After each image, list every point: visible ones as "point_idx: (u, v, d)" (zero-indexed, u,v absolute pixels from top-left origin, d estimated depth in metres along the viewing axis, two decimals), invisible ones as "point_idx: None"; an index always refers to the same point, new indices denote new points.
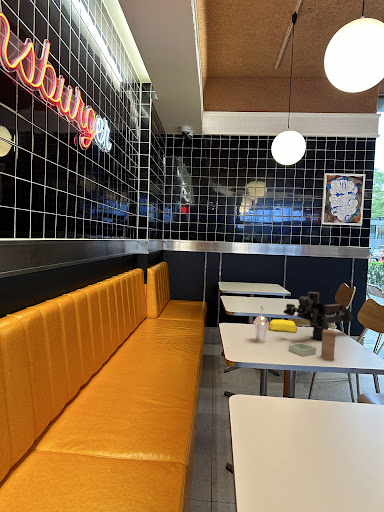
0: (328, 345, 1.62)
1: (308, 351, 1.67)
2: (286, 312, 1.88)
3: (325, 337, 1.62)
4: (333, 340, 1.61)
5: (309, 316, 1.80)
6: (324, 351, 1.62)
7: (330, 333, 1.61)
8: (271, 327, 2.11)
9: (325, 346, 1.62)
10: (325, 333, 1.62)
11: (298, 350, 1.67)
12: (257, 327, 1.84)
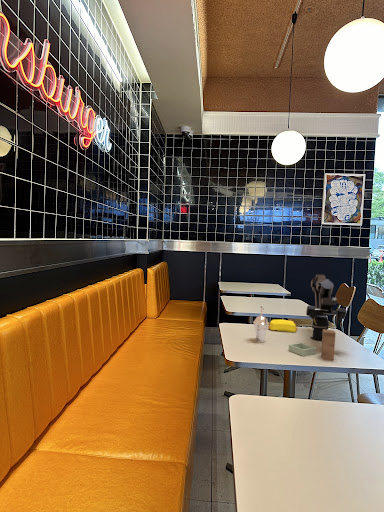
0: (328, 345, 1.62)
1: (308, 351, 1.67)
2: None
3: (325, 337, 1.62)
4: (333, 340, 1.61)
5: (341, 317, 1.73)
6: (324, 351, 1.62)
7: (330, 333, 1.61)
8: (271, 327, 2.11)
9: (325, 346, 1.62)
10: (325, 333, 1.62)
11: (298, 350, 1.67)
12: (257, 327, 1.84)
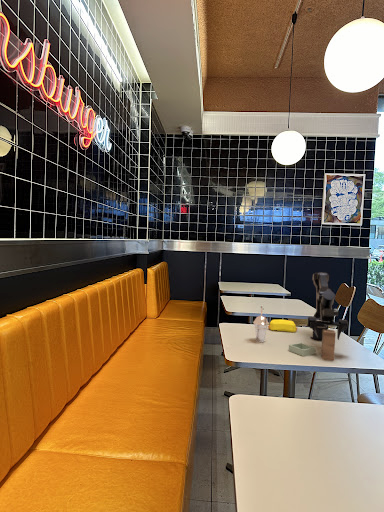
0: (328, 345, 1.62)
1: (308, 351, 1.67)
2: None
3: (325, 337, 1.62)
4: (333, 340, 1.61)
5: (342, 329, 1.68)
6: (324, 351, 1.62)
7: (330, 333, 1.61)
8: (271, 327, 2.11)
9: (325, 346, 1.62)
10: (325, 333, 1.62)
11: (298, 350, 1.67)
12: (257, 327, 1.84)
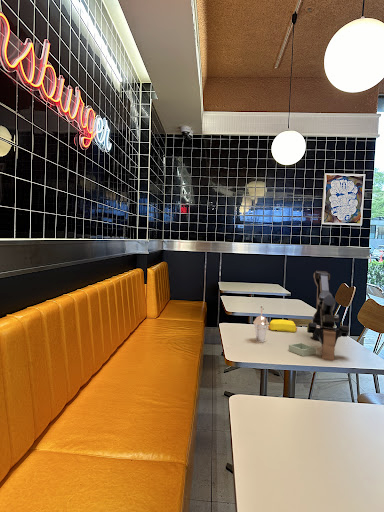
0: (328, 345, 1.61)
1: (308, 351, 1.67)
2: None
3: (325, 337, 1.62)
4: (333, 340, 1.61)
5: (339, 335, 1.66)
6: (324, 351, 1.62)
7: (330, 333, 1.61)
8: (271, 327, 2.11)
9: (326, 346, 1.62)
10: (325, 333, 1.62)
11: (298, 350, 1.67)
12: (257, 327, 1.84)
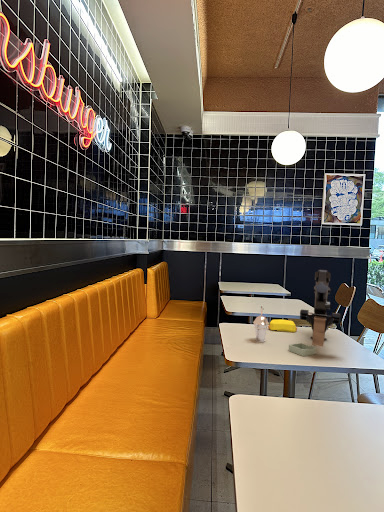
0: (318, 332, 1.64)
1: (308, 351, 1.67)
2: None
3: (315, 323, 1.64)
4: (323, 327, 1.63)
5: (331, 322, 1.67)
6: (314, 337, 1.64)
7: (320, 320, 1.63)
8: (271, 327, 2.11)
9: (315, 332, 1.64)
10: (315, 319, 1.64)
11: (298, 350, 1.67)
12: (257, 327, 1.84)
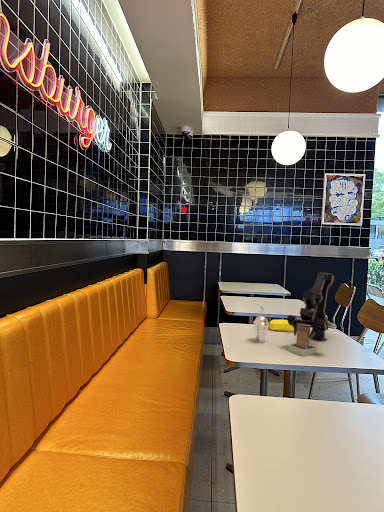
0: (301, 340, 1.69)
1: (308, 351, 1.67)
2: (296, 331, 1.73)
3: (298, 332, 1.69)
4: (305, 335, 1.67)
5: (318, 329, 1.70)
6: (297, 345, 1.70)
7: (303, 328, 1.68)
8: (271, 327, 2.11)
9: (298, 340, 1.69)
10: (298, 328, 1.69)
11: (298, 350, 1.67)
12: (257, 327, 1.84)
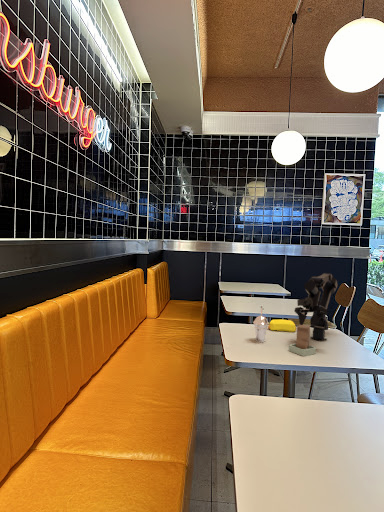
0: (301, 340, 1.69)
1: (308, 351, 1.67)
2: (302, 321, 1.84)
3: (298, 332, 1.69)
4: (305, 335, 1.67)
5: (321, 314, 1.75)
6: (297, 345, 1.70)
7: (302, 328, 1.68)
8: (271, 327, 2.11)
9: (298, 340, 1.69)
10: (298, 328, 1.69)
11: (298, 350, 1.67)
12: (257, 327, 1.84)
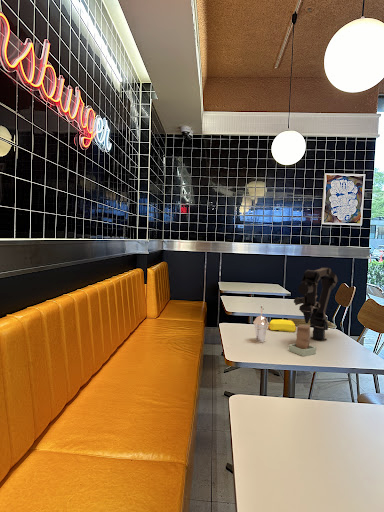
0: (301, 340, 1.69)
1: (308, 351, 1.67)
2: (313, 316, 1.89)
3: (298, 332, 1.69)
4: (305, 335, 1.67)
5: None
6: (297, 345, 1.70)
7: (302, 328, 1.68)
8: (271, 327, 2.11)
9: (298, 340, 1.69)
10: (298, 328, 1.69)
11: (298, 350, 1.67)
12: (257, 327, 1.84)
